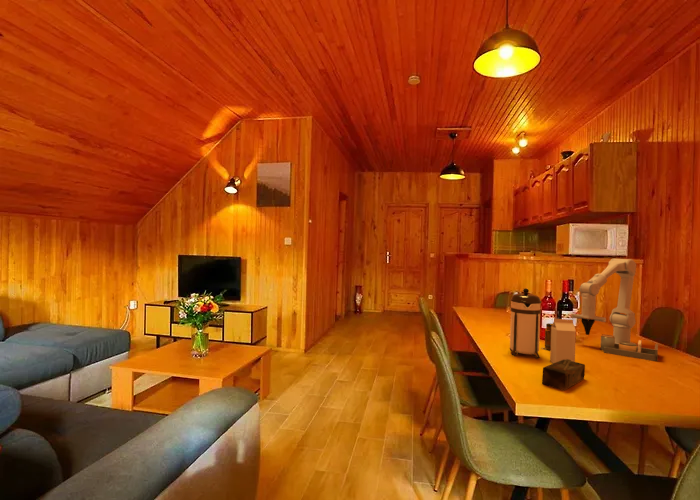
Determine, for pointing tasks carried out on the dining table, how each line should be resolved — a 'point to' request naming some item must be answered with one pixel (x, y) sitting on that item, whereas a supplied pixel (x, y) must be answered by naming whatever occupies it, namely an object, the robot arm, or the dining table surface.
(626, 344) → the amber jar
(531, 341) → the coffee press
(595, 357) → the dining table surface
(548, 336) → the condiment
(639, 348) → the pusher plate
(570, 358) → the milk carton
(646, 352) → the pusher lane
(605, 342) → the slate jar
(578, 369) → the dark brown block
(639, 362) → the dining table surface
